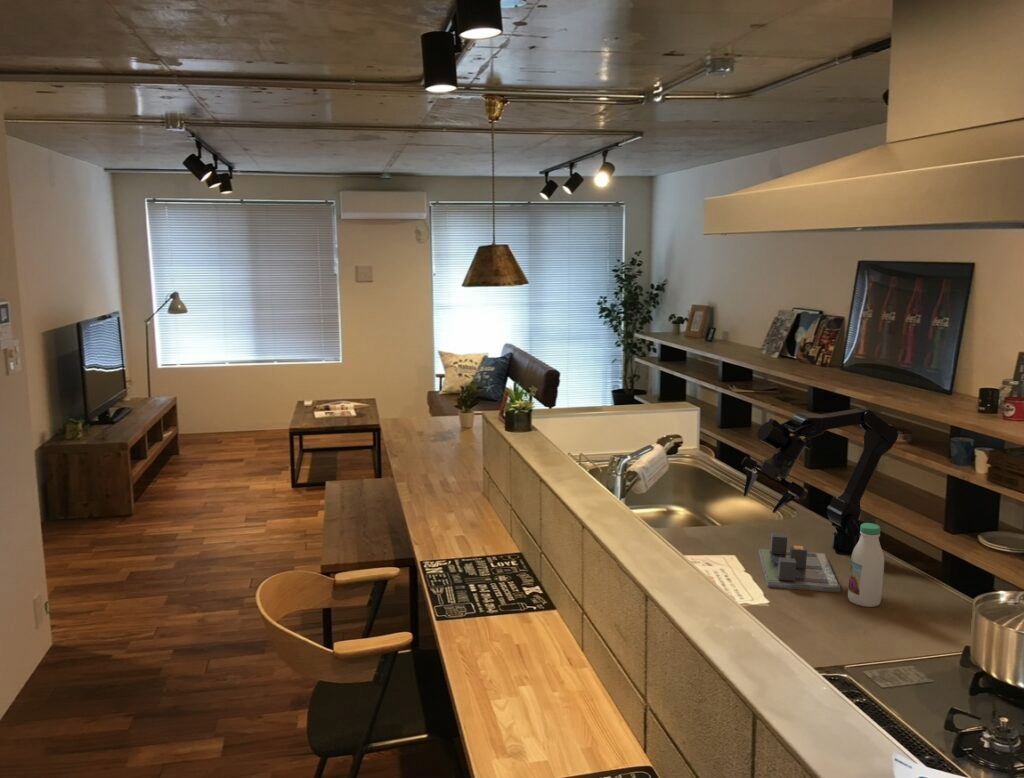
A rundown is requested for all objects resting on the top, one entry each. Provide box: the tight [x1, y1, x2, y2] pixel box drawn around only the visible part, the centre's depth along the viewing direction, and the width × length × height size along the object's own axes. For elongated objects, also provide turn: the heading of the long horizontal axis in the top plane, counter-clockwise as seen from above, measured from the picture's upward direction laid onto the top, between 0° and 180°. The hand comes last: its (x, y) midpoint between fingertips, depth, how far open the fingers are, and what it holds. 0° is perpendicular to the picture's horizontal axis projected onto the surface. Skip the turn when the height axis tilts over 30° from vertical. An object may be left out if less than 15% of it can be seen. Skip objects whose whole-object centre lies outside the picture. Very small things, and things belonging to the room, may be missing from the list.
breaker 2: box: [778, 557, 796, 581], centre depth 221 cm, size 4×3×5 cm
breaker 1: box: [769, 532, 788, 554], centre depth 238 cm, size 4×3×5 cm
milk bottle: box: [847, 522, 885, 608], centre depth 209 cm, size 8×8×20 cm
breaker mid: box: [789, 545, 808, 568], centre depth 229 cm, size 4×3×5 cm
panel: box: [758, 548, 841, 593], centre depth 229 cm, size 18×23×2 cm
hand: (758, 504), depth 234 cm, fingers open, 9 cm apart
